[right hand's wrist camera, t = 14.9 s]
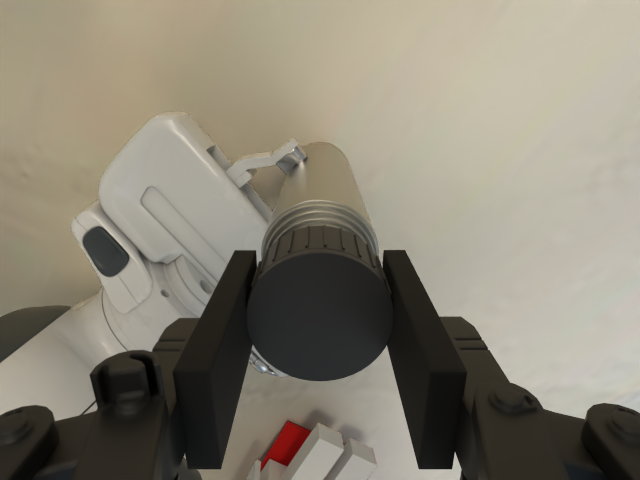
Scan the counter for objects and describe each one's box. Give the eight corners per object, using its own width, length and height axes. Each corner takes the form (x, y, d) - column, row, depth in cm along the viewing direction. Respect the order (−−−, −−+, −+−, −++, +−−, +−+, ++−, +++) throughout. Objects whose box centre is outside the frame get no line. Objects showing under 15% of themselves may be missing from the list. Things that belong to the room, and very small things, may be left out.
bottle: (352, 199, 34) (400, 371, 14) (293, 205, 34) (254, 383, 14) (347, 139, 32) (396, 232, 12) (285, 145, 32) (228, 248, 12)
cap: (410, 265, 14) (427, 299, 12) (339, 358, 16) (342, 404, 14) (297, 198, 14) (292, 221, 11) (232, 303, 15) (217, 342, 13)
